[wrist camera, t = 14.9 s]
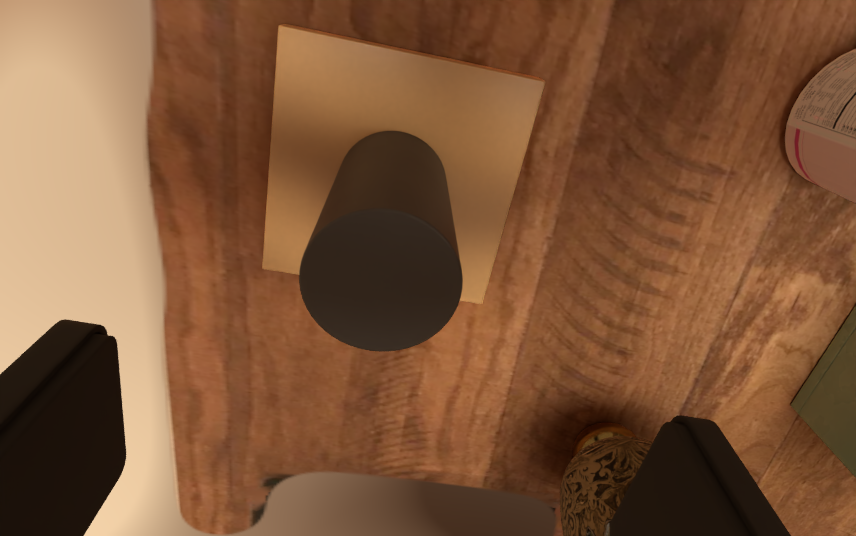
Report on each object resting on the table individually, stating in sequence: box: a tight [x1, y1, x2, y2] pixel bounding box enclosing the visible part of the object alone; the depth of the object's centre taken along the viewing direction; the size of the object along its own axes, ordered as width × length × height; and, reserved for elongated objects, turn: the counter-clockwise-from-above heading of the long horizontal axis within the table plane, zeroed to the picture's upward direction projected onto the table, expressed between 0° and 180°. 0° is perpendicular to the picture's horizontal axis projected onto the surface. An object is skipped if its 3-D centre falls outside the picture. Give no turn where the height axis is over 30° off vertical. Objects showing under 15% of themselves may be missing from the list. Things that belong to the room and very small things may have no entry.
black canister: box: [299, 131, 463, 351], centre depth 18 cm, size 4×4×8 cm
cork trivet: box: [262, 24, 545, 304], centre depth 22 cm, size 10×10×1 cm
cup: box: [560, 422, 653, 536], centre depth 27 cm, size 8×7×8 cm
